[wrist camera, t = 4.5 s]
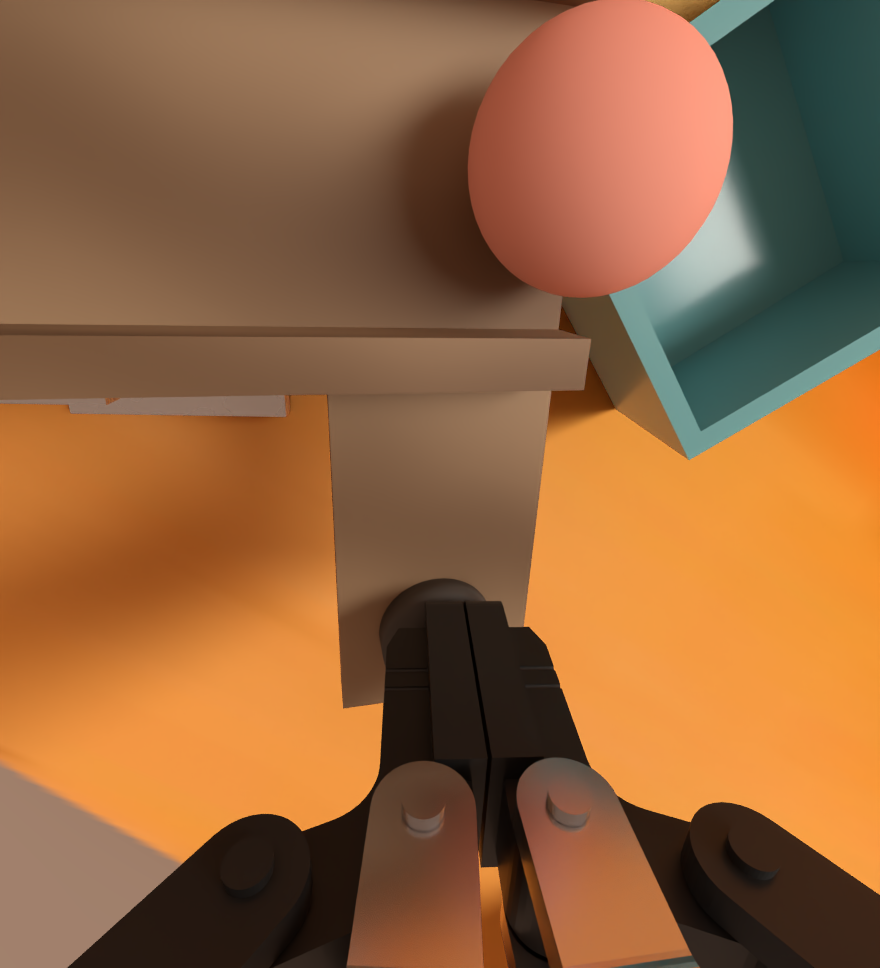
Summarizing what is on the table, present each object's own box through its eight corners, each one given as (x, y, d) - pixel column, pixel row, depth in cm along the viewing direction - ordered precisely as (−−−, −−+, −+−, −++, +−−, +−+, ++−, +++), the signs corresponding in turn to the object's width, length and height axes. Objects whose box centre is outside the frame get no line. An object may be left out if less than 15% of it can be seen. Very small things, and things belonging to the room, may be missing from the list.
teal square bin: (848, 266, 15) (1018, 268, 11) (615, 409, 17) (689, 460, 12) (764, -22, 13) (948, -167, 8) (493, 174, 14) (533, 136, 10)
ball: (433, 172, 5) (408, 203, 8) (648, 362, 6) (558, 330, 9) (660, -173, 4) (542, -2, 7) (861, 111, 5) (688, 162, 8)
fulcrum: (290, 411, 16) (180, 556, 8) (82, 408, 15) (-246, 558, 8) (252, -74, 12) (-56, -758, 4) (-36, -97, 11) (-1047, -921, 3)
